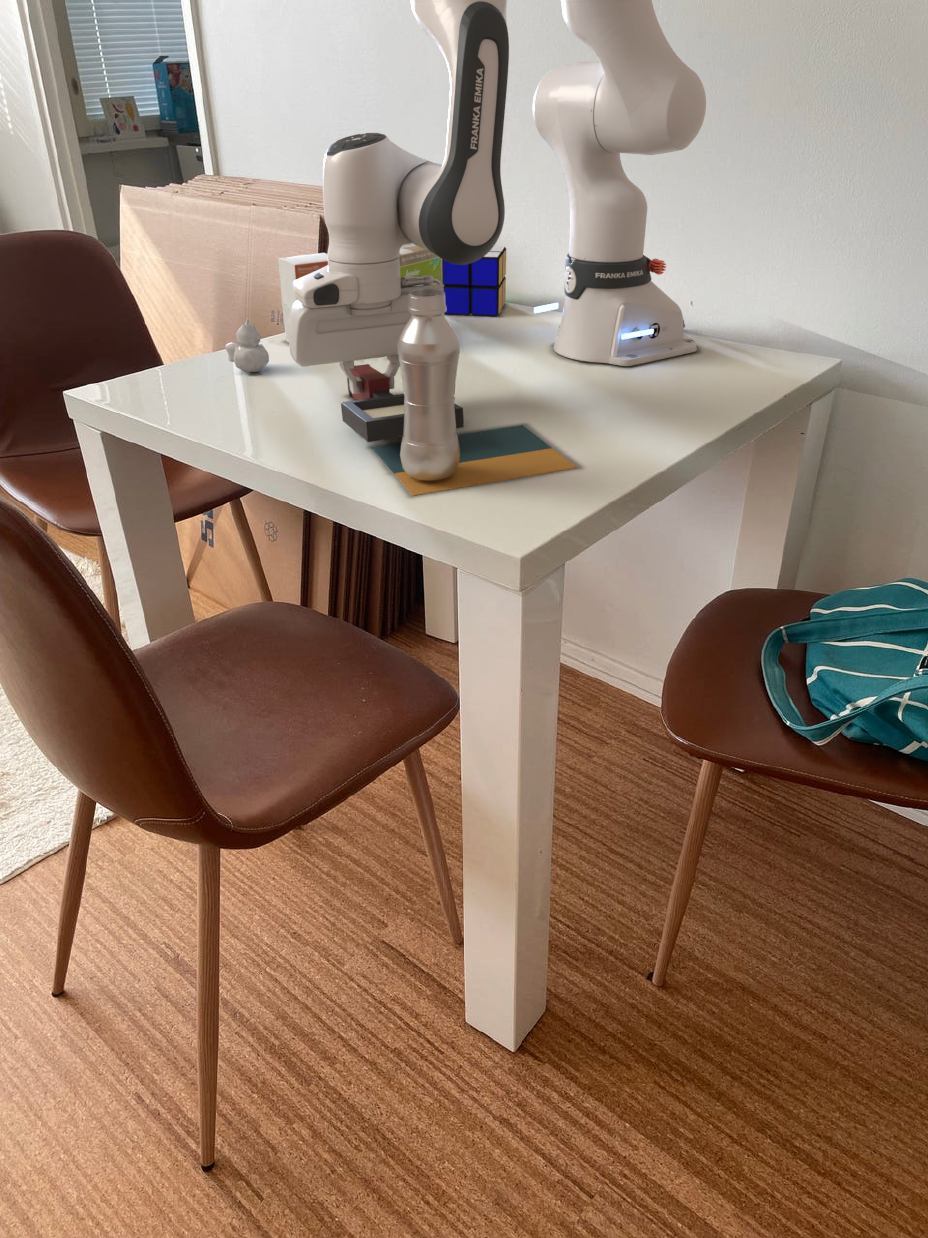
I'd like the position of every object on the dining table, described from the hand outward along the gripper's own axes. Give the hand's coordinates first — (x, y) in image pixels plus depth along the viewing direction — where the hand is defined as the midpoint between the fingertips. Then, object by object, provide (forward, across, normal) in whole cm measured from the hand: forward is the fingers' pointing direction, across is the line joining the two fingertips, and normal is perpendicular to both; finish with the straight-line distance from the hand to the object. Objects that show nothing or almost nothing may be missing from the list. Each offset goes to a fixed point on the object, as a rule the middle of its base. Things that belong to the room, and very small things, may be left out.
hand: (372, 390), depth 123 cm
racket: (+1, 0, +6) cm, 6 cm away
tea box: (+3, -13, -32) cm, 35 cm away
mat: (+2, -6, +21) cm, 22 cm away
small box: (+3, -1, -34) cm, 34 cm away
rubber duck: (+3, +12, -23) cm, 26 cm away
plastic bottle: (+3, +1, +24) cm, 24 cm away
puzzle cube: (+3, -33, -44) cm, 55 cm away
